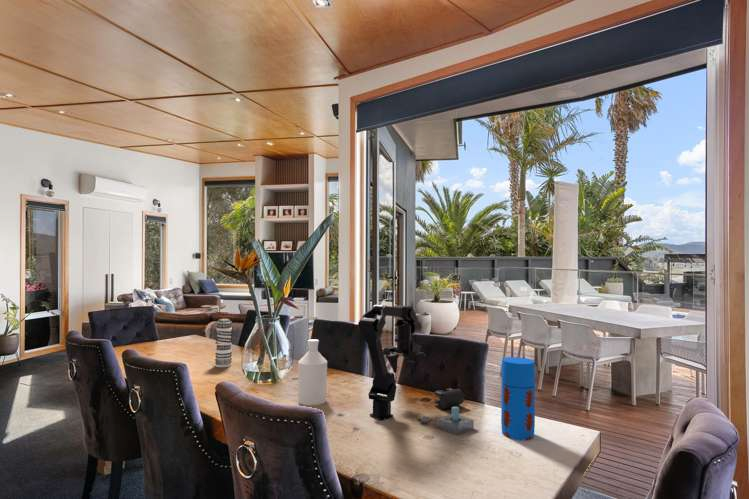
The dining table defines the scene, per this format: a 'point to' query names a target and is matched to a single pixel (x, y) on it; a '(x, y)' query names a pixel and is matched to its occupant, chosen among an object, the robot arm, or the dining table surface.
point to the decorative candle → (223, 343)
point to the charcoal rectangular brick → (425, 420)
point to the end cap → (449, 398)
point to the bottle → (312, 376)
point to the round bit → (455, 413)
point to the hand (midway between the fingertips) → (403, 375)
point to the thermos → (518, 398)
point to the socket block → (455, 424)
